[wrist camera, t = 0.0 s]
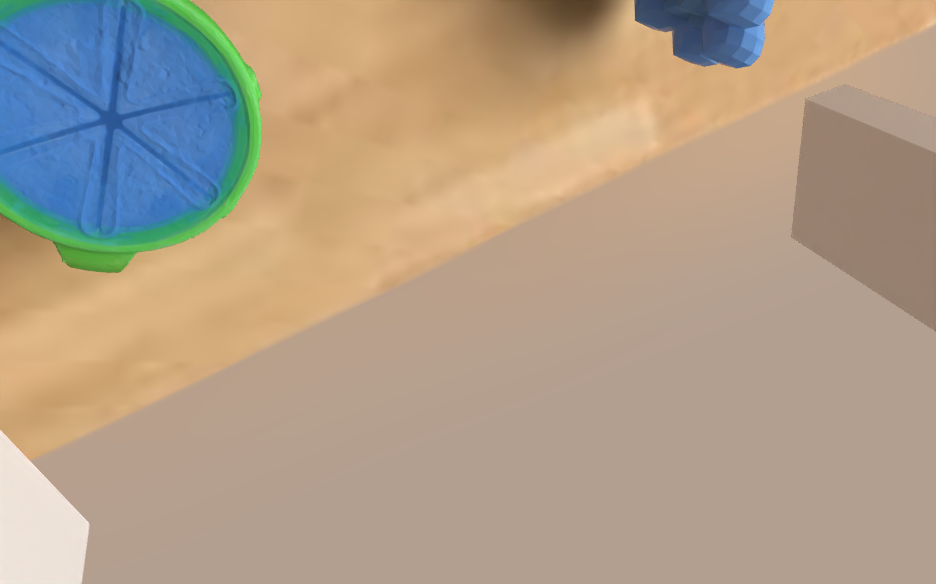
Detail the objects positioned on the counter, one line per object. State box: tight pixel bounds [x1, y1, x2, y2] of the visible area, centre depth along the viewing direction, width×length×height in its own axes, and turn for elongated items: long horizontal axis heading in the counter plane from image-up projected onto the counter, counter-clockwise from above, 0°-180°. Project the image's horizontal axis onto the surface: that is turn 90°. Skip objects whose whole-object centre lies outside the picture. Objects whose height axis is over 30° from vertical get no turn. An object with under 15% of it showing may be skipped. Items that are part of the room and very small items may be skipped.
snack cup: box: [0, 0, 262, 273], centre depth 28 cm, size 16×11×10 cm
